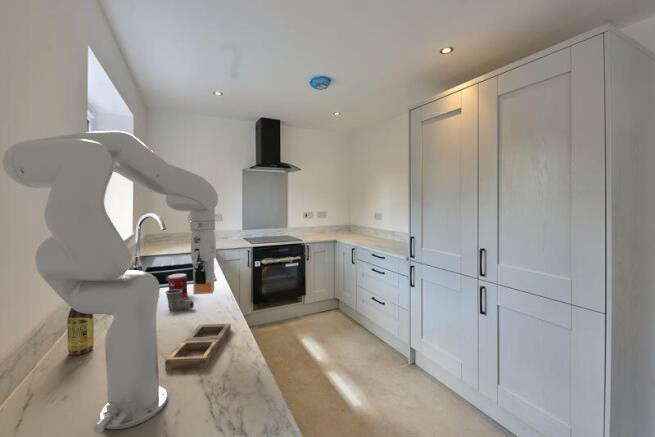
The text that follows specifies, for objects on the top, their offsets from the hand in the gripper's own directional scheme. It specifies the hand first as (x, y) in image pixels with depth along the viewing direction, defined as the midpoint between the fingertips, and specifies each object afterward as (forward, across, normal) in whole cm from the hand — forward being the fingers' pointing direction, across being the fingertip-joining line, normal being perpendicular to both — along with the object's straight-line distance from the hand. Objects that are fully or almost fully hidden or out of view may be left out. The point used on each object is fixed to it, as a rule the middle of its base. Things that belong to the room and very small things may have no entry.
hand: (204, 280), depth 95 cm
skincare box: (+4, 0, 0) cm, 4 cm away
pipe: (+21, +32, +23) cm, 44 cm away
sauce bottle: (+21, -3, +37) cm, 43 cm away
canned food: (+20, +48, +31) cm, 61 cm away
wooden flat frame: (+21, -3, 0) cm, 21 cm away
